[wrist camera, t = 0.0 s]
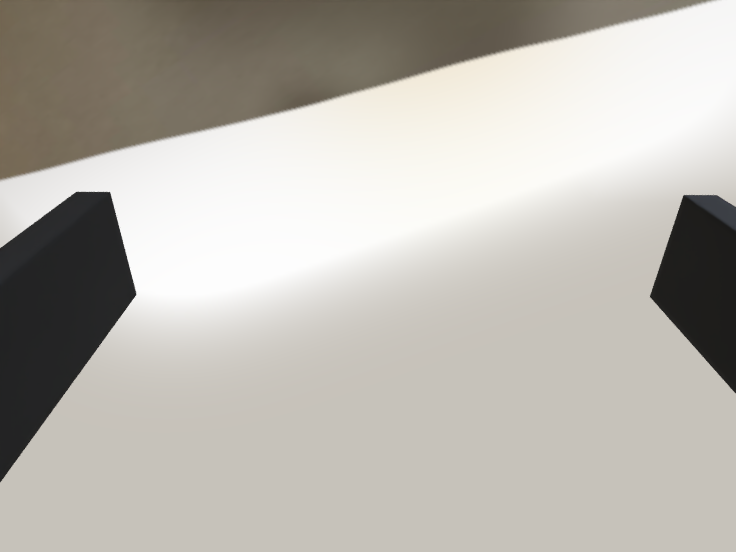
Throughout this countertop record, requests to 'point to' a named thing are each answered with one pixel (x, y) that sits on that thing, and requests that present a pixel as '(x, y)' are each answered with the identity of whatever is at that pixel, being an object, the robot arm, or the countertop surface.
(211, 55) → the countertop surface
